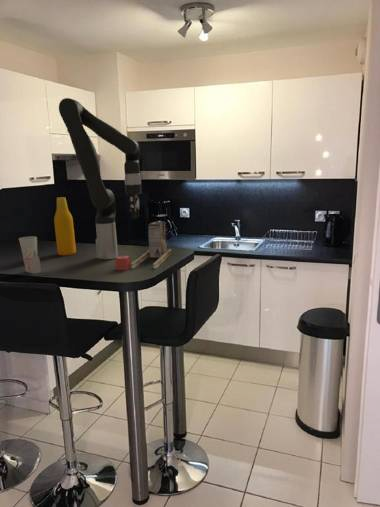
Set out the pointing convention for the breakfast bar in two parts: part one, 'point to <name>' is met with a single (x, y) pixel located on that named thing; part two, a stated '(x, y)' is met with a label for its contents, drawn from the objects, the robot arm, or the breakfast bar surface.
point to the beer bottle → (64, 229)
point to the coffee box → (157, 239)
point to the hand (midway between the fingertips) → (135, 218)
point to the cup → (28, 244)
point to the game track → (148, 256)
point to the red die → (122, 262)
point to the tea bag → (32, 262)
